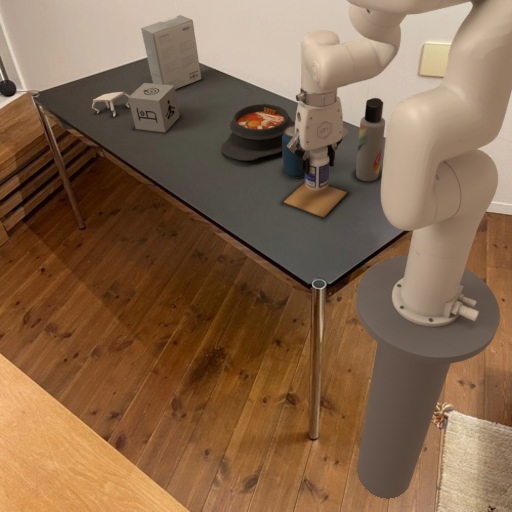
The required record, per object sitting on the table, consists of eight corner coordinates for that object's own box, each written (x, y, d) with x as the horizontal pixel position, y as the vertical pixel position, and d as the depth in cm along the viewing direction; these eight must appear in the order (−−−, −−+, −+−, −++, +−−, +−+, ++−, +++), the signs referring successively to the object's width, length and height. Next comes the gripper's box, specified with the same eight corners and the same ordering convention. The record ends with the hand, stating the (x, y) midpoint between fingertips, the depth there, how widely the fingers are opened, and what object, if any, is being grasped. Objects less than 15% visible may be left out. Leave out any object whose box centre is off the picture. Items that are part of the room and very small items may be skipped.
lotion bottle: (382, 172, 128) (391, 98, 115) (373, 184, 125) (382, 108, 111) (361, 167, 131) (368, 93, 117) (352, 178, 127) (358, 103, 114)
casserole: (267, 117, 154) (266, 90, 148) (316, 136, 144) (316, 108, 138) (206, 151, 141) (203, 124, 135) (255, 175, 131) (253, 146, 125)
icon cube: (135, 128, 153) (128, 97, 146) (151, 113, 160) (144, 82, 153) (165, 132, 150) (158, 100, 144) (179, 116, 157) (174, 85, 150)
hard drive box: (189, 73, 181) (181, 14, 168) (202, 79, 177) (194, 19, 163) (152, 87, 174) (140, 27, 161) (164, 94, 170) (152, 32, 156)
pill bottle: (326, 176, 124) (328, 140, 117) (330, 190, 120) (331, 153, 113) (303, 178, 124) (303, 142, 118) (305, 191, 120) (306, 155, 113)
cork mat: (347, 193, 123) (347, 192, 122) (323, 217, 116) (323, 216, 116) (308, 180, 128) (308, 179, 128) (283, 202, 122) (283, 201, 121)
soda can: (314, 175, 129) (315, 133, 121) (289, 182, 128) (289, 140, 119) (302, 162, 134) (302, 120, 126) (278, 169, 132) (277, 127, 124)
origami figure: (105, 121, 158) (101, 106, 155) (92, 112, 163) (88, 98, 159) (138, 107, 163) (135, 93, 160) (125, 100, 168) (121, 85, 165)
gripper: (291, 111, 102) (291, 186, 114) (363, 91, 106) (357, 165, 119) (274, 97, 107) (277, 170, 119) (344, 78, 112) (340, 150, 124)
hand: (317, 166), depth 119 cm, fingers closed on pill bottle, 5 cm apart
